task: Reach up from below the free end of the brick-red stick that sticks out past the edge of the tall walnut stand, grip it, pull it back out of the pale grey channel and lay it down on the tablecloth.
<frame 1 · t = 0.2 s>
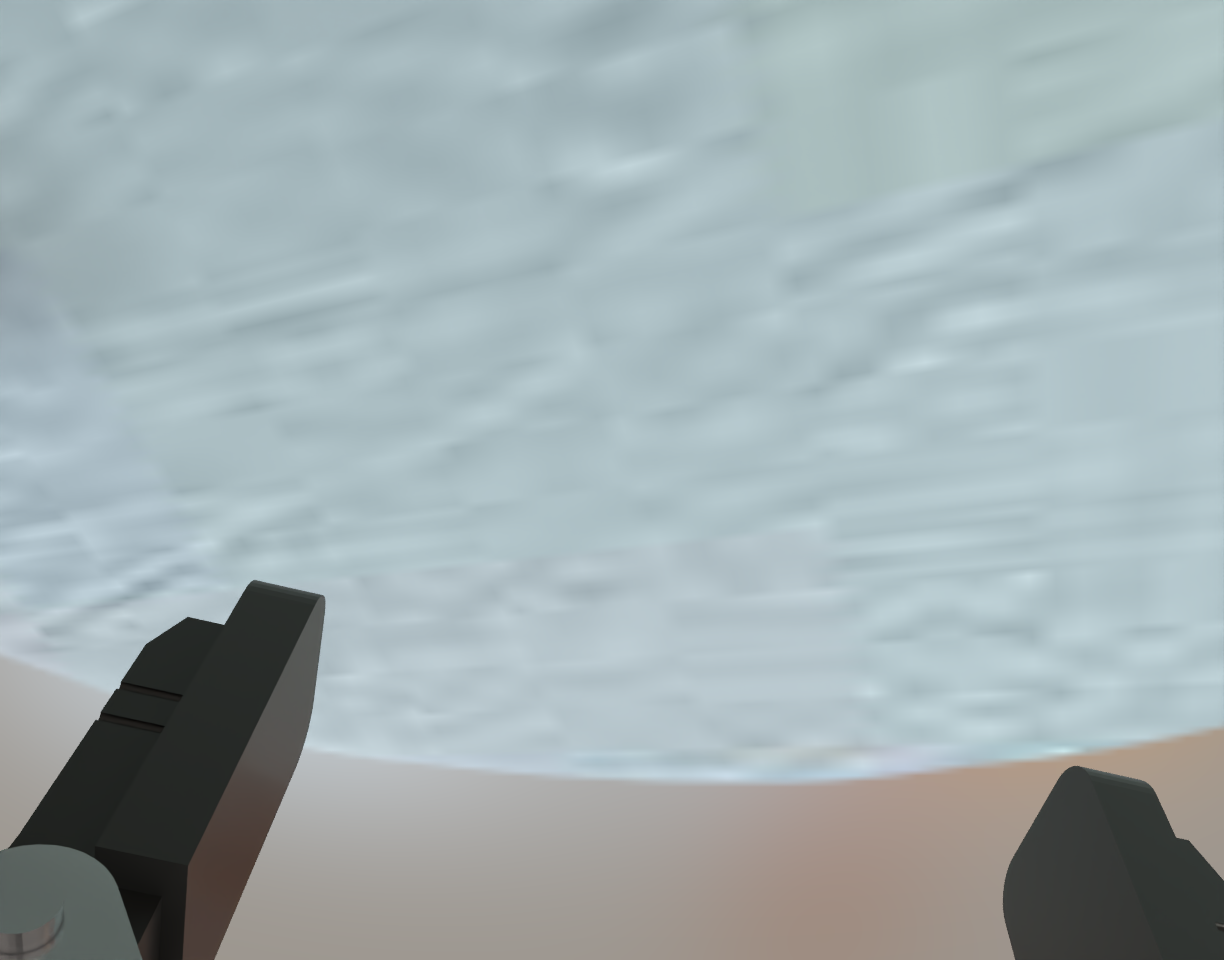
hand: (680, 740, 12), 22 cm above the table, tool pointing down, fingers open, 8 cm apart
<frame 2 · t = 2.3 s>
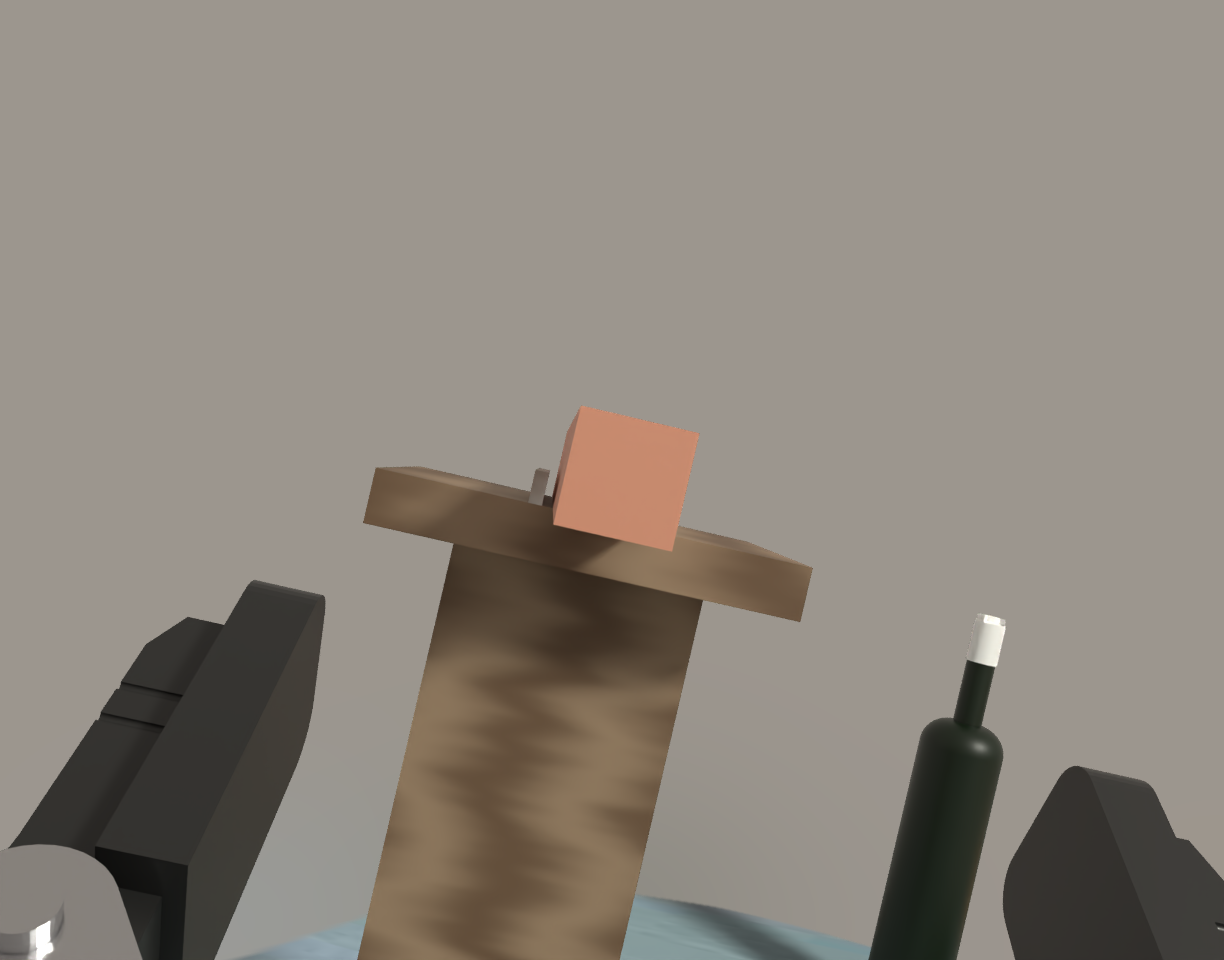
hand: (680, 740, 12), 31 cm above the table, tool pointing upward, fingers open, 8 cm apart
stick: (594, 515, 44), point 32 cm above the table, touching stand
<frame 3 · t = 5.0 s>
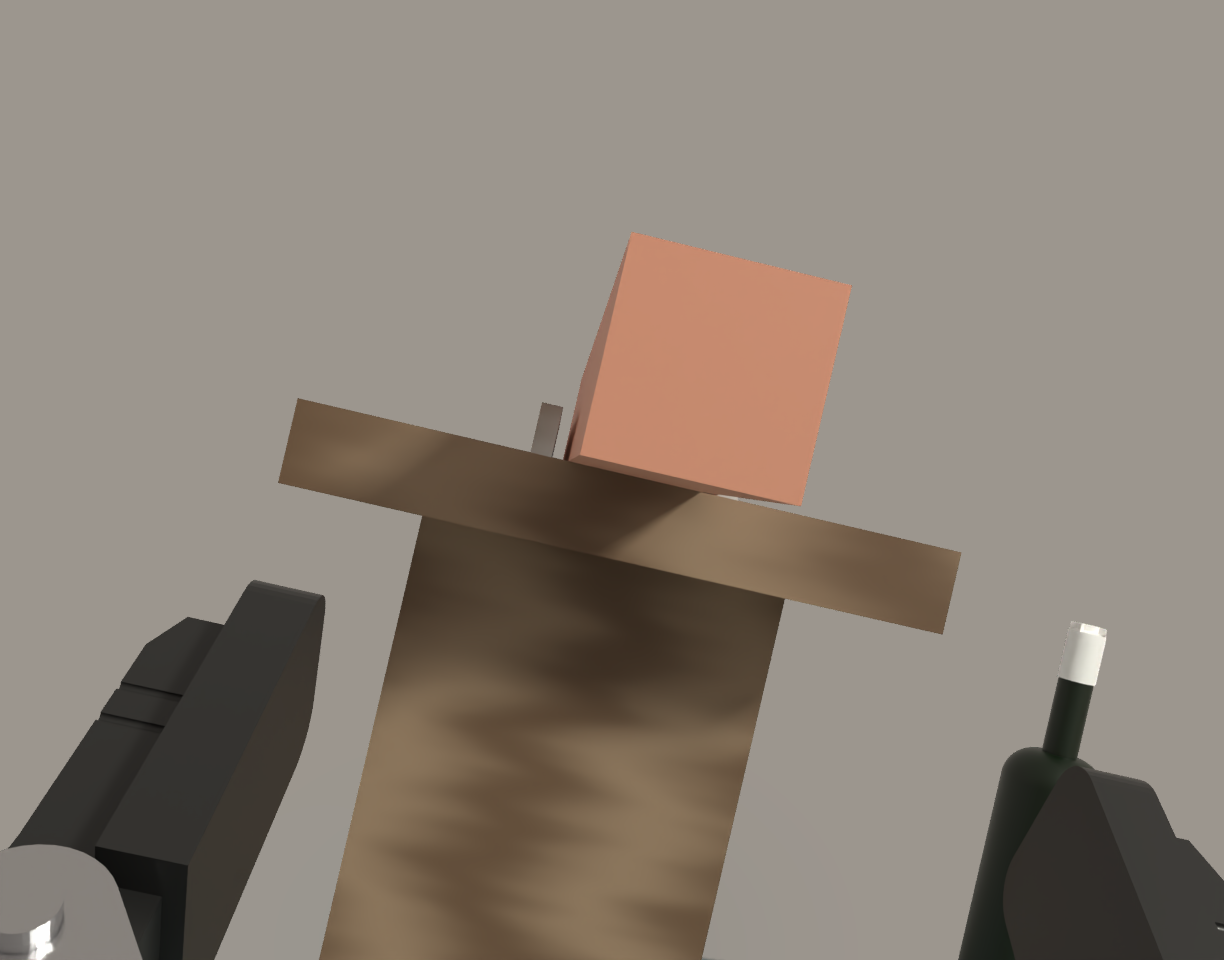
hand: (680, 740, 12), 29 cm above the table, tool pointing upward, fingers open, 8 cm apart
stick: (629, 476, 29), point 32 cm above the table, touching stand
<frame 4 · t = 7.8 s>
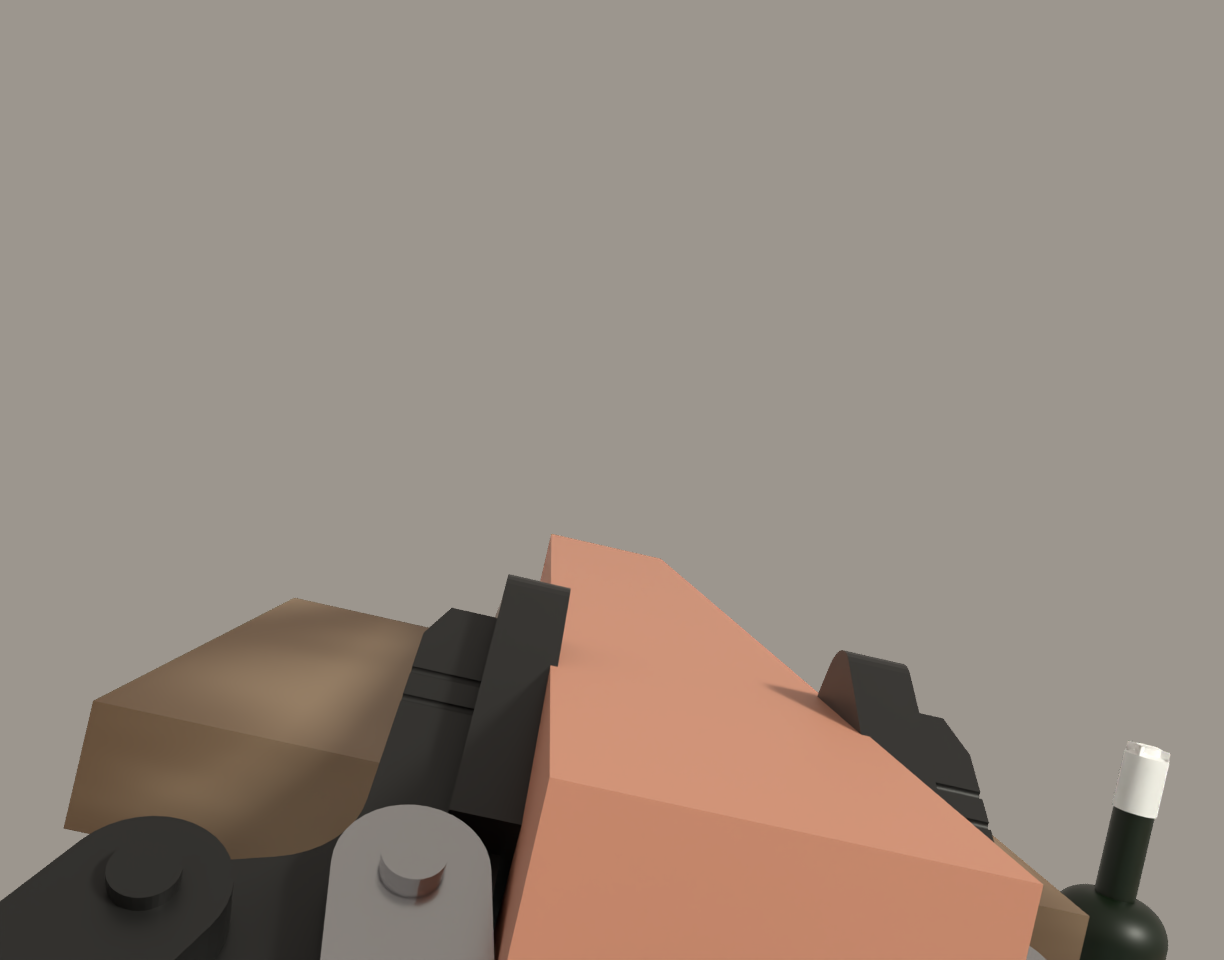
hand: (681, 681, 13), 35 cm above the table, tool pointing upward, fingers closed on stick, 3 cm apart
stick: (599, 777, 20), point 32 cm above the table, touching gripper, stand
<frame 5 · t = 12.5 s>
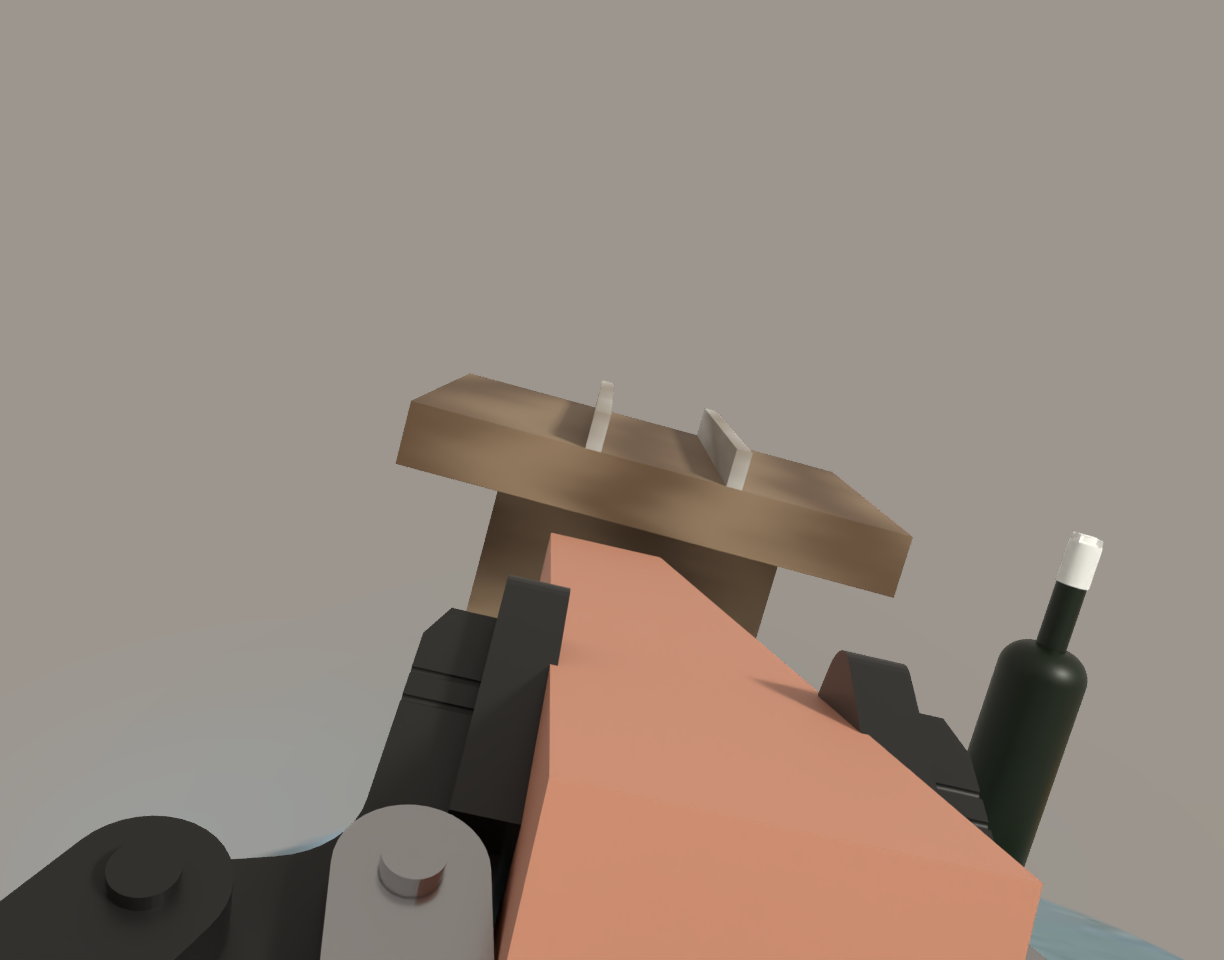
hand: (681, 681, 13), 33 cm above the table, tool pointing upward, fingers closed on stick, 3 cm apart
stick: (599, 776, 20), point 29 cm above the table, tilted 9°, touching gripper
wine bottle: (948, 947, 81), on the table
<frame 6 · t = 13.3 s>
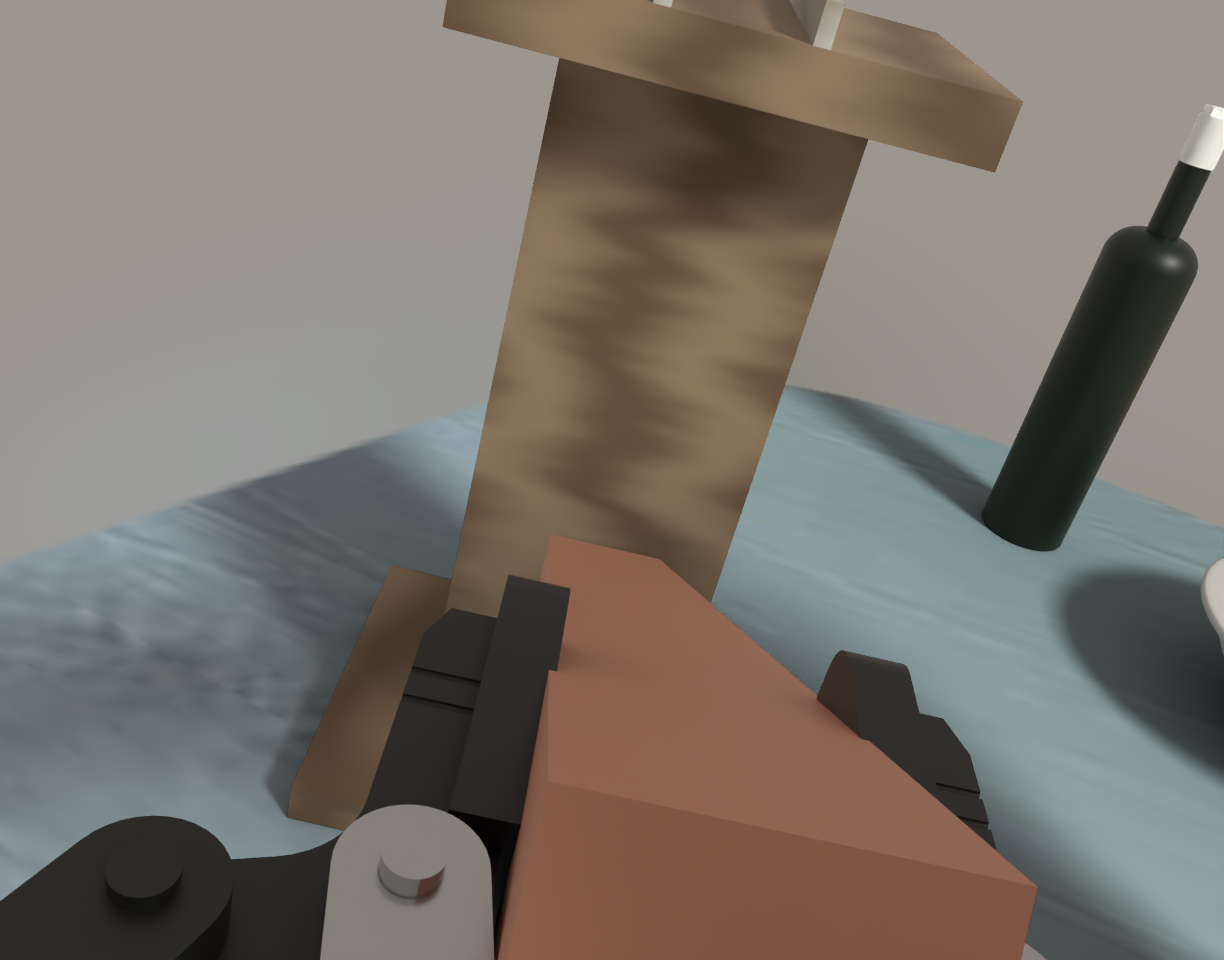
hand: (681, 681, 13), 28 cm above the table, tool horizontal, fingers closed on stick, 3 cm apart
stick: (598, 778, 20), point 22 cm above the table, tilted 28°, touching gripper
stand: (538, 734, 53), on the table
wine bottle: (1019, 531, 84), on the table
when the fingers open (13 cm above the table, at t = 17.3 s): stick drops 8 cm, on the table.
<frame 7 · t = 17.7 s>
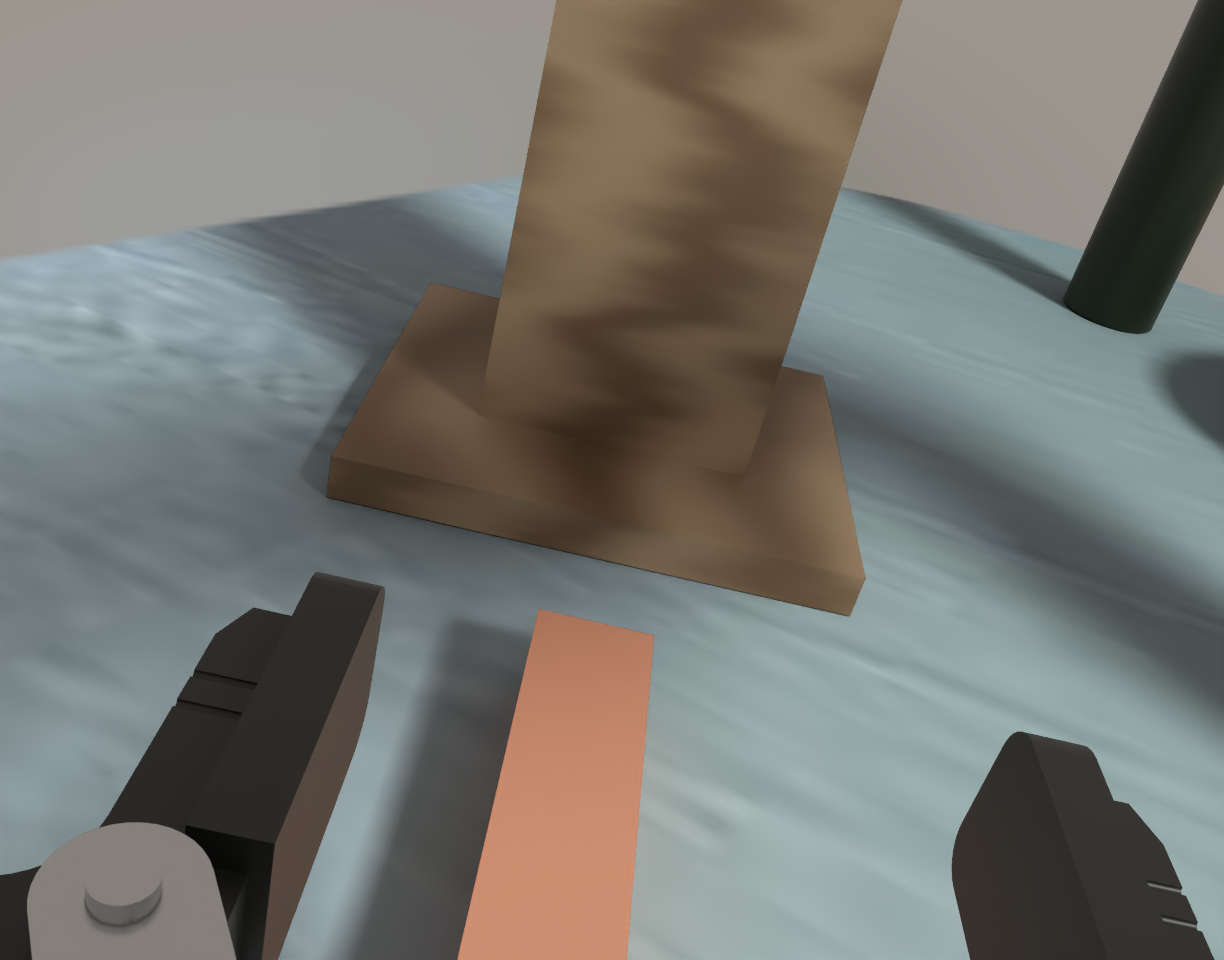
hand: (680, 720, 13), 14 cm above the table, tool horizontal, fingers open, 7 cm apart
stand: (608, 444, 46), on the table
wine bottle: (1105, 316, 76), on the table
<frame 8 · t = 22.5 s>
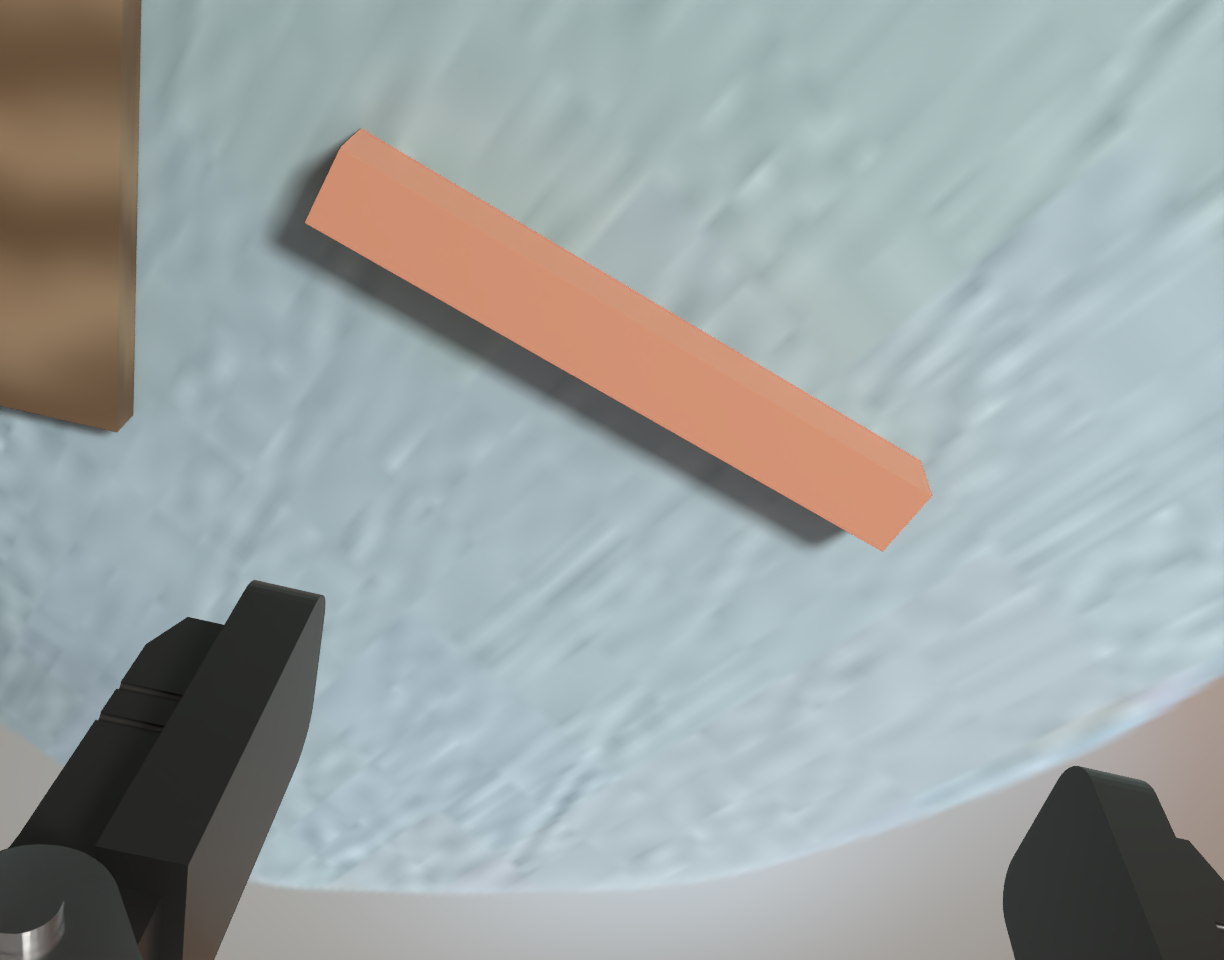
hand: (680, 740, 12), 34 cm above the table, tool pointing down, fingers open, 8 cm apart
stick: (636, 332, 47), on the table
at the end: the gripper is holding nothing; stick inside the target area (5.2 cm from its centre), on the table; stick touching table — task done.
